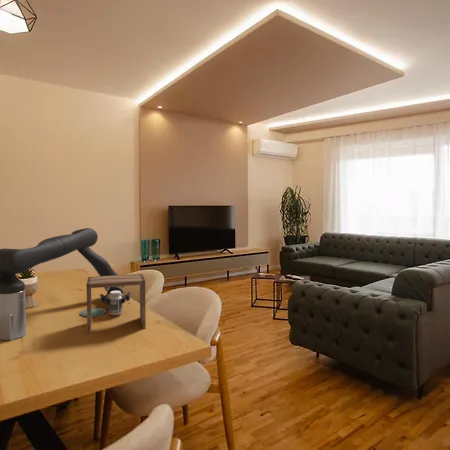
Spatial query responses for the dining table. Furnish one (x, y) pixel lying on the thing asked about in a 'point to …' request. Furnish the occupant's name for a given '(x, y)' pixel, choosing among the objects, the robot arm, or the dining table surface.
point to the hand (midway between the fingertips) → (115, 301)
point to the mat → (94, 312)
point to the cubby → (112, 282)
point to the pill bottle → (115, 303)
